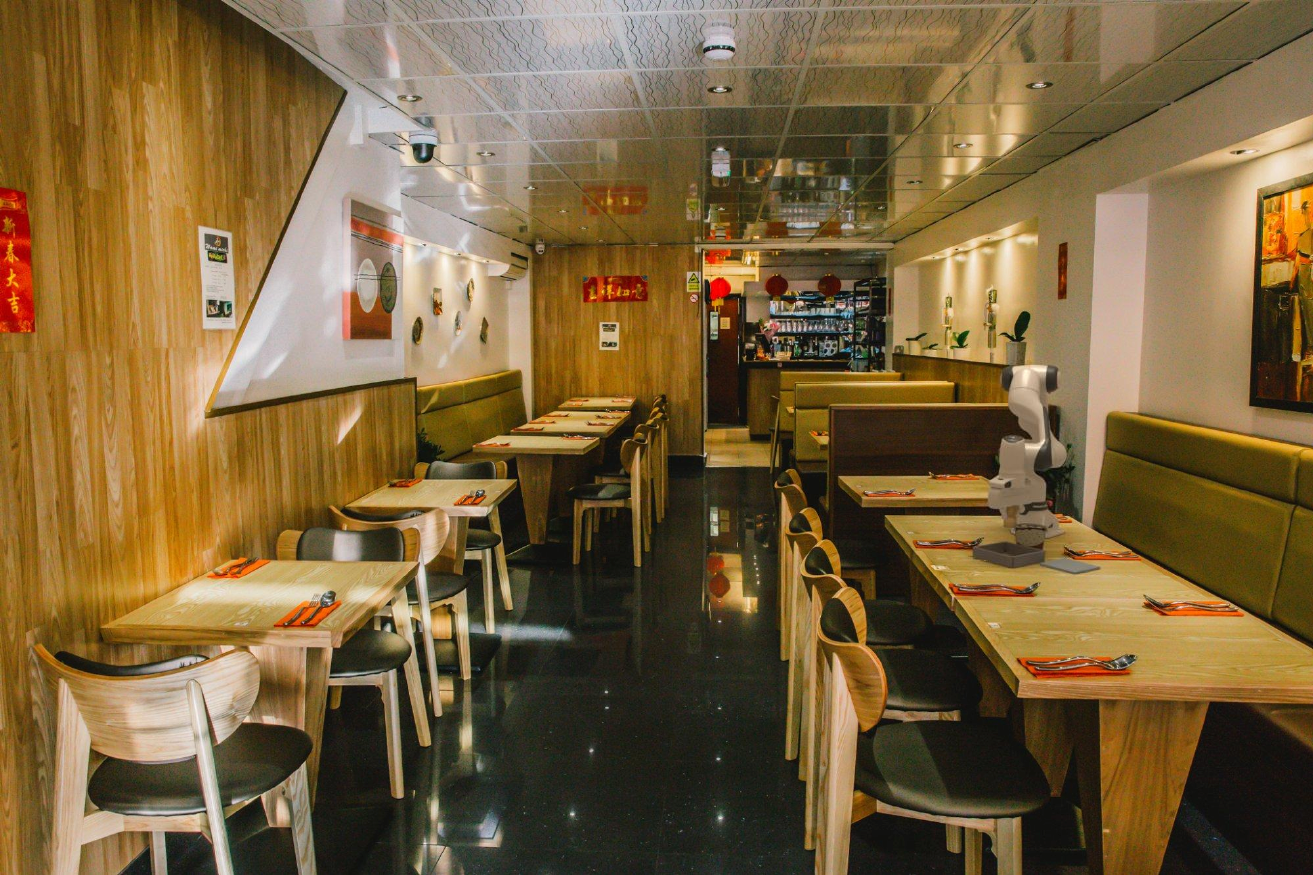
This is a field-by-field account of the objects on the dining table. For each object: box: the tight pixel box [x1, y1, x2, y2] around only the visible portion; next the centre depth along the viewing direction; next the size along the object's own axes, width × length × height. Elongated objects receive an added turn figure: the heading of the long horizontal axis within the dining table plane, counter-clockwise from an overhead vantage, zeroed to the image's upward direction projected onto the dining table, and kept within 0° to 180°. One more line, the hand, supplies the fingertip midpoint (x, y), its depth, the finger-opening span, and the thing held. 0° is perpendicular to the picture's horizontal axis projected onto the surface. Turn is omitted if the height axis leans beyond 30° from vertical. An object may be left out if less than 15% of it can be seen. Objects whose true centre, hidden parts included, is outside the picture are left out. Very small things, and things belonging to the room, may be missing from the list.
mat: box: [1039, 557, 1101, 575], centre depth 313 cm, size 14×14×1 cm
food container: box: [1013, 523, 1048, 550], centre depth 337 cm, size 12×6×10 cm, turn 84°
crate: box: [972, 540, 1046, 569], centre depth 324 cm, size 18×18×4 cm
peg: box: [1003, 506, 1017, 529], centre depth 322 cm, size 4×4×8 cm
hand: (1010, 518), depth 322 cm, fingers closed on peg, 4 cm apart
